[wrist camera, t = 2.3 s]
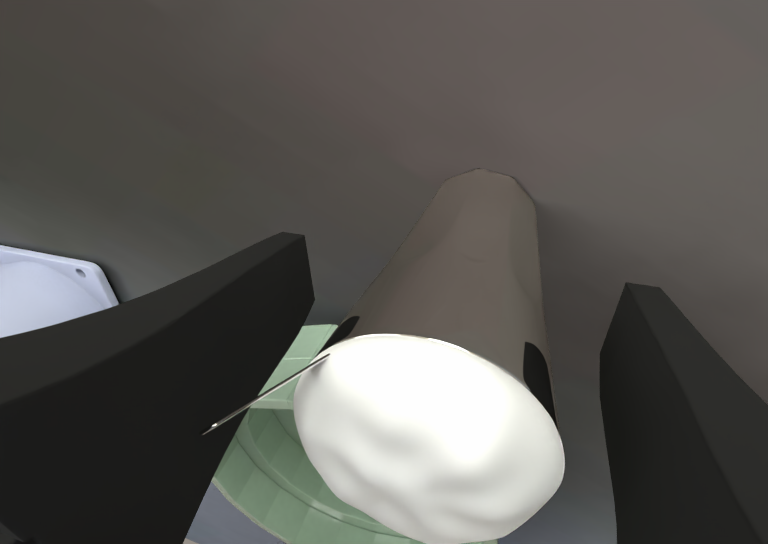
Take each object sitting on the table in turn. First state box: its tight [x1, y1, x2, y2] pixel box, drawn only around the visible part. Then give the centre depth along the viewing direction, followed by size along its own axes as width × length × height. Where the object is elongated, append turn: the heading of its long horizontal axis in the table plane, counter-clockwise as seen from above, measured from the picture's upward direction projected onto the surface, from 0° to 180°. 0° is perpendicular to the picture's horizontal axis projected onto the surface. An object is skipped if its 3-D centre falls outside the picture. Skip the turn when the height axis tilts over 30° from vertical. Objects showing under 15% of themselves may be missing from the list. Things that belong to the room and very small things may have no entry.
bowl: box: [212, 324, 498, 544], centre depth 20 cm, size 13×13×4 cm
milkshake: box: [199, 168, 565, 544], centre depth 10 cm, size 4×5×10 cm
